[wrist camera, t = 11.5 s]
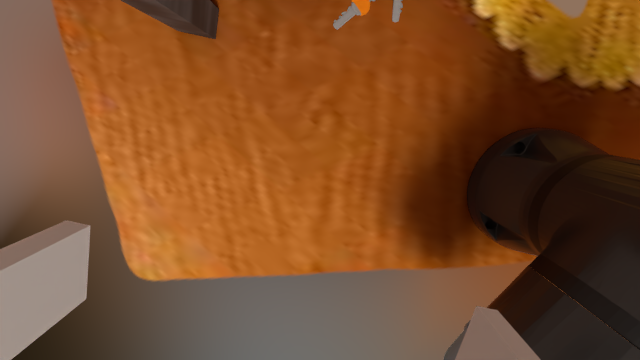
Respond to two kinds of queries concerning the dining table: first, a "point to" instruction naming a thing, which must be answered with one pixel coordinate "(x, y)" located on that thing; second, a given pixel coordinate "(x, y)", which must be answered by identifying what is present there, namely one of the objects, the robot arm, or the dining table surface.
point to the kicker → (182, 14)
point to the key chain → (364, 11)
